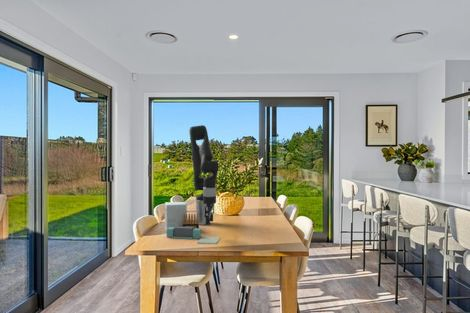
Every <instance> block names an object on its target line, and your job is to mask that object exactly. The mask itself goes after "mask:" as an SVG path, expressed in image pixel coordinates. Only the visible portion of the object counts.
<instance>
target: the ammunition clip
mask: <svg viewBox="0 0 470 313" xmlns="http://www.w3.org/2000/svg"><path fill="white" fill-rule="evenodd" d="M182 227H194V229H195V228H200V225H199V219H198V213H197V218H196V212H194V214H193V213H191V214H190V213H188V214H187V213H186V219H185V215H184V214H183V225H182Z"/></svg>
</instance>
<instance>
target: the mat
mask: <svg viewBox="0 0 470 313" xmlns="http://www.w3.org/2000/svg"><path fill="white" fill-rule="evenodd" d="M220 239H221V237H216V236H215V237H211V236H201V237H200V238H199V240H197V242H196V244H205V245H206V244H207V245H209V244H210V245H211V244H213V245H217V244H218V242H219V241H220Z"/></svg>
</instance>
